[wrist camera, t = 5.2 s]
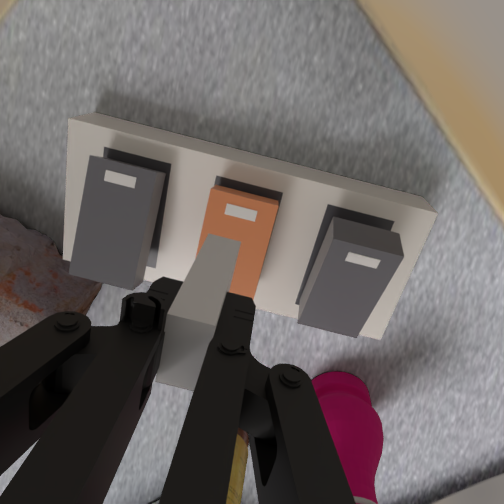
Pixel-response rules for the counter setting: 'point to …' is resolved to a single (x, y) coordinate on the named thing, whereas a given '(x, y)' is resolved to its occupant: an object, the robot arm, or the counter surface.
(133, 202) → the rocker end
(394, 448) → the counter surface
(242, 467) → the sauce bottle
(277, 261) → the rocker switch panel
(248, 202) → the rocker middle
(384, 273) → the block
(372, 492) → the pepper mill
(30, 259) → the food item
